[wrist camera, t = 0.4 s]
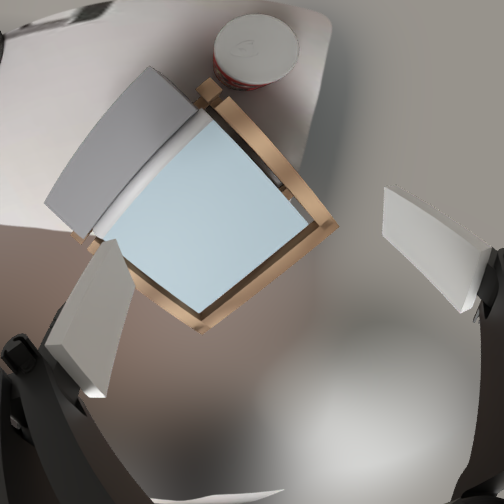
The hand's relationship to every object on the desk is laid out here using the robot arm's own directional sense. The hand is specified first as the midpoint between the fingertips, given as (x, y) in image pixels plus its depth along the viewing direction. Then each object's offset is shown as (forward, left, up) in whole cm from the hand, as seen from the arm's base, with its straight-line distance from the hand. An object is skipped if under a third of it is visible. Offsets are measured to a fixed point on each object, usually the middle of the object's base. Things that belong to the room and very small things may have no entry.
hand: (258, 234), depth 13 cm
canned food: (-7, +10, -26) cm, 29 cm away
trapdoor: (-2, -5, -15) cm, 16 cm away
